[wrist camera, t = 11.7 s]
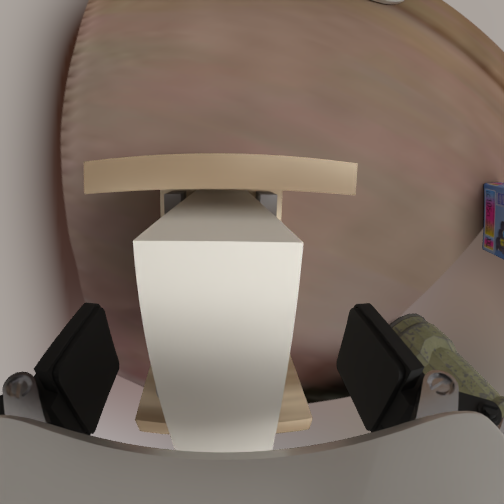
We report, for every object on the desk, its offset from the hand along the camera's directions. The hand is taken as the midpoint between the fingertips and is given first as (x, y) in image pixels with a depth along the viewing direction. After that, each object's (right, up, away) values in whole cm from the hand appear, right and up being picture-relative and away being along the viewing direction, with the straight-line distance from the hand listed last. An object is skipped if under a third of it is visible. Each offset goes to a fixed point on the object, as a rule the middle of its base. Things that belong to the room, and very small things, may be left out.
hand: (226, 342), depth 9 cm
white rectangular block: (-2, +3, +13) cm, 14 cm away
